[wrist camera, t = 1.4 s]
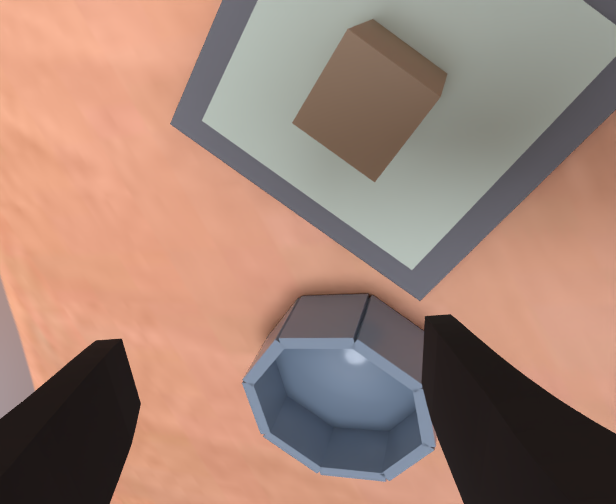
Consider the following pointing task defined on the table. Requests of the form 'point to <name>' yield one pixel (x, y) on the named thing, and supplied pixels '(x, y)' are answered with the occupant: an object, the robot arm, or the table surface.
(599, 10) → the mat
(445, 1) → the lid
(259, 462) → the table surface
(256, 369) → the bowl
